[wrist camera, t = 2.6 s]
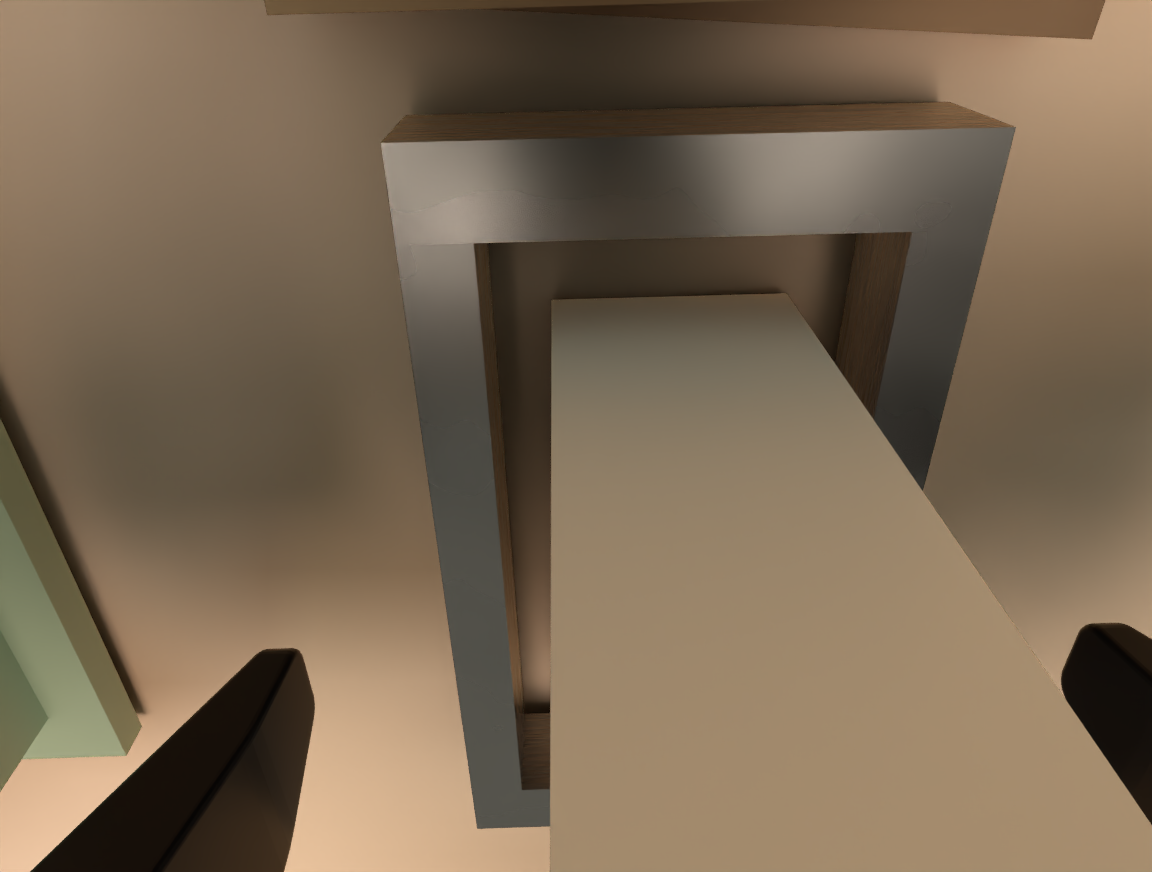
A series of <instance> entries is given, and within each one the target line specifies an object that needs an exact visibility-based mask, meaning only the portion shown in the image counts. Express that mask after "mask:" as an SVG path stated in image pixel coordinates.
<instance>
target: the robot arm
mask: <svg viewBox="0 0 1152 872" xmlns="http://www.w3.org/2000/svg"><path fill="white" fill-rule="evenodd" d="M1061 685H1062V690H1063V693H1064V696H1065V699H1066V701H1067V702H1068V704H1069V705H1070V707H1071V708H1072V710H1073V711H1074V713H1075V714H1076V715H1077V717H1078V718H1079V720H1080V721H1081V723H1082V724H1083V726H1084V727H1085V729H1086V730H1087V731H1088V733H1089V734H1090V736H1091V737H1092V739H1093V740H1094V742H1095V743H1096V745H1097V746H1098V747H1099V749H1100V750H1101V752H1102V753H1103V755H1104V756H1105V758H1106V759H1107V761H1108V762H1109V764H1110V765H1111V766H1112V768H1113V769H1114V771H1115V772H1116V774H1117V775H1118V777H1119V778H1120V780H1121V781H1122V782H1123V784H1124V785H1125V787H1126V788H1127V790H1128V791H1129V793H1130V794H1131V796H1132V797H1133V798H1134V800H1135V801H1136V803H1137V804H1138V806H1139V807H1140V809H1141V810H1142V812H1143V813H1144V814H1145V816H1146V817H1147V819H1148V820H1149V822H1150V823H1151V825H1152V639H1151V638H1149V637H1147V636H1146V635H1144V634H1142V633H1141V632H1139V631H1137V630H1135V629H1134V628H1132V627H1130V626H1128V625H1126V624H1122V623H1093V624H1087V625H1085V626H1084V627H1083V628H1082V629H1081V630H1080V631H1079V633H1078V635H1077V638H1076V640H1075V642H1074V645H1073V647H1072V649H1071V651H1070V654H1069V656H1068V658H1067V661H1066V663H1065V665H1064V668H1063V670H1062V675H1061ZM314 711H315V702H314V695H313V691H312V688H311V684H310V681H309V677H308V674H307V670H306V666H305V663H304V659H303V656H302V654H301V653H300V651H299V650H297V649H294V648H285V649H265V650H262V651H261V652H259V653H258V654H256V655H255V656H254V657H253V658H252V659H251V660H250V661H249V662H248V663H247V664H246V665H245V666H244V667H243V668H242V669H241V670H240V671H239V672H238V673H236V674H235V675H234V676H233V677H232V678H231V679H230V680H229V681H228V682H227V683H226V684H225V685H224V686H223V687H222V688H221V689H220V690H219V691H218V692H217V693H216V694H215V695H214V696H213V697H212V698H210V699H209V700H208V701H207V702H206V703H205V704H204V705H203V706H202V707H201V708H200V709H199V710H198V711H197V712H196V713H195V714H194V715H193V716H192V717H191V718H190V719H189V720H188V721H187V722H186V723H184V724H183V725H182V726H181V727H180V728H179V729H178V730H177V731H176V732H175V733H174V734H173V735H172V736H171V737H170V738H169V739H168V740H167V741H166V742H165V743H164V744H163V745H162V746H161V747H159V748H158V749H157V750H156V751H155V752H154V753H153V754H152V755H151V756H150V757H149V758H148V759H147V760H146V761H145V762H144V763H143V764H142V765H141V766H140V767H139V768H138V769H137V770H136V771H135V772H133V773H132V774H131V775H130V776H129V777H128V778H127V779H126V780H125V781H124V782H123V783H122V784H121V785H120V786H119V787H118V788H117V789H116V790H115V791H114V792H113V793H112V794H111V795H110V796H108V797H107V798H106V799H105V800H104V801H103V802H102V803H101V804H100V805H99V806H98V807H97V808H96V809H95V810H94V811H93V812H92V813H91V814H90V815H89V816H88V817H87V818H86V819H85V820H84V821H82V822H81V823H80V824H79V825H78V826H77V827H76V828H75V829H74V830H73V831H72V832H71V833H70V834H69V835H68V836H67V837H66V838H65V839H64V840H63V841H62V842H61V843H60V844H59V845H58V846H56V847H55V848H54V849H53V850H52V851H51V852H50V853H49V854H48V855H47V856H46V857H45V858H44V859H43V860H42V861H41V862H40V863H39V864H38V865H37V866H36V867H35V868H34V869H33V870H31V871H30V872H284V870H285V866H286V862H287V858H288V855H289V851H290V847H291V842H292V837H293V832H294V827H295V821H296V815H297V810H298V804H299V799H300V793H301V787H302V782H303V776H304V771H305V765H306V759H307V754H308V748H309V742H310V737H311V731H312V726H313V720H314Z"/></svg>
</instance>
